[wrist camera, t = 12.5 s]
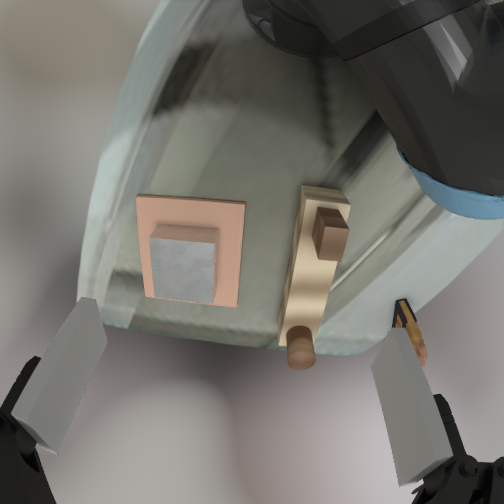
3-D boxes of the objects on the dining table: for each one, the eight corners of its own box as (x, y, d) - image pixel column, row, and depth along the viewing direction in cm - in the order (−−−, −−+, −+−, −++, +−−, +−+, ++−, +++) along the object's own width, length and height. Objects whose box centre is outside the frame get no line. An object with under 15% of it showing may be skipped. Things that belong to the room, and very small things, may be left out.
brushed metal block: (158, 223, 39) (148, 237, 36) (219, 228, 39) (214, 243, 36) (162, 280, 44) (154, 297, 40) (217, 286, 44) (213, 304, 40)
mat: (138, 194, 38) (135, 196, 37) (245, 202, 38) (245, 204, 37) (147, 293, 46) (145, 296, 45) (237, 304, 46) (236, 307, 45)
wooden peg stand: (301, 185, 37) (313, 218, 28) (341, 190, 37) (363, 224, 28) (277, 322, 48) (279, 372, 39) (309, 324, 48) (315, 373, 39)
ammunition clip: (395, 299, 45) (421, 355, 34) (406, 297, 45) (433, 352, 34) (388, 345, 50) (407, 398, 40) (398, 343, 50) (417, 395, 39)
